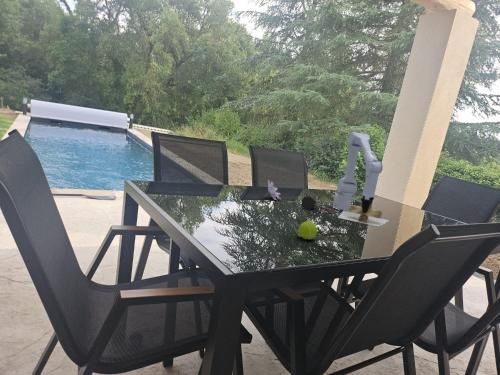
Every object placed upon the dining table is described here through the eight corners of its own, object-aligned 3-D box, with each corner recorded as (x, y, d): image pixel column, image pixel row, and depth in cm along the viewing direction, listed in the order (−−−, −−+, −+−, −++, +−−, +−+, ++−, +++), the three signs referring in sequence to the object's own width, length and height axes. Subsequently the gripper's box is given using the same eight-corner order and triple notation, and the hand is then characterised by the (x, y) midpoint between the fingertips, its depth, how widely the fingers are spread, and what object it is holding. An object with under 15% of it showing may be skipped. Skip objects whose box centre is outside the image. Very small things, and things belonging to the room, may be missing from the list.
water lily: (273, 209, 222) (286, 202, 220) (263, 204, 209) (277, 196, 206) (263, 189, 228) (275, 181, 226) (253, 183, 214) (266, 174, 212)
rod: (348, 211, 195) (349, 205, 194) (349, 210, 198) (350, 204, 197) (380, 218, 190) (382, 212, 189) (381, 217, 193) (382, 211, 192)
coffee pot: (298, 207, 204) (303, 207, 212) (330, 219, 197) (333, 219, 205) (303, 193, 204) (308, 194, 211) (335, 205, 196) (338, 206, 204)
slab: (337, 218, 192) (337, 217, 192) (343, 211, 212) (343, 210, 212) (387, 229, 184) (387, 228, 184) (388, 221, 204) (388, 220, 204)
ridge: (358, 220, 191) (359, 215, 191) (359, 217, 199) (361, 212, 198) (366, 222, 190) (367, 216, 189) (367, 219, 197) (368, 214, 197)
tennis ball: (303, 235, 153) (306, 218, 152) (318, 240, 149) (321, 223, 148) (293, 237, 148) (297, 220, 146) (309, 243, 143) (312, 225, 142)
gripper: (377, 188, 183) (372, 215, 186) (379, 185, 197) (373, 210, 199) (362, 185, 186) (357, 212, 188) (365, 182, 199) (360, 208, 201)
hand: (364, 211), depth 194 cm, fingers open, 7 cm apart
